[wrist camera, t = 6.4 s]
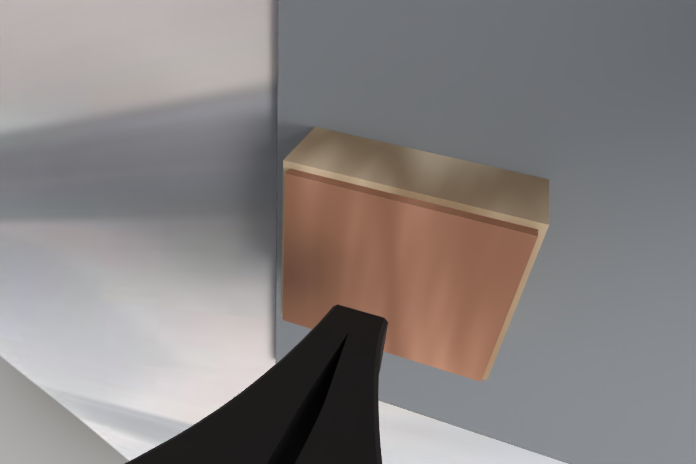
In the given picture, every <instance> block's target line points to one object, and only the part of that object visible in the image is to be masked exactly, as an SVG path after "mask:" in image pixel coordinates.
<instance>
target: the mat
mask: <svg viewBox="0 0 696 464" xmlns="http://www.w3.org/2000/svg"><path fill="white" fill-rule="evenodd" d="M314 127H319V128H323V129H328V130H332V131H337V132H341V133H346V134H350V135H354V136H359V137H363V138H368V139H372V140H377V141H381V142H385V143H390V144H394V145H399V146H403V147H408V148H412V149H416V150H421V151H425V152H430V153H434V154H439V155H443V156H448V157H452V158H456V159H461V160H465V161H470V162H474V163H479V164H483V165H487V166H492V167H496V168H501V169H505V170H510V171H514V172H518V173H523V174H527V175H532V176H536V177H541V178H545V179H549V227H548V229H547V232H546V234H545V237H544V239H543V242H542V244H541V247H540V249H539V252H538V254H537V257H536V259H535V262H534V264H533V267H532V269H531V272H530V274H529V277H528V279H527V282H526V284H525V287H524V289H523V292H522V294H521V297H520V299H519V302H518V304H517V307H516V309H515V312H514V314H513V317H512V319H511V322H510V324H509V327H508V329H507V332H506V334H505V337H504V339H503V342H502V344H501V347H500V349H499V352H498V354H497V357H496V359H495V362H494V364H493V367H492V369H491V372H490V374H489V377H488V379H487V380H484V379H482V381H481V382H480V381H476V380H473V379H470V378H467V377H464V376H460V375H457V374H454V373H451V372H448V371H444V370H441V369H438V368H435V367H432V366H428V365H425V364H422V363H419V362H416V361H412V360H409V359H406V358H403V357H400V356H396V355H393V354H390V353H387V352H384V351H383V356H382V362H381V368H380V372H379V388H378V400H379V401H382V402H385V403H388V404H391V405H394V406H397V407H400V408H403V409H406V410H409V411H412V412H415V413H418V414H421V415H424V416H427V417H430V418H433V419H436V420H439V421H442V422H445V423H448V424H451V425H454V426H457V427H460V428H463V429H466V430H469V431H472V432H475V433H478V434H481V435H484V436H487V437H490V438H493V439H496V440H499V441H502V442H505V443H508V444H511V445H514V446H517V447H520V448H523V449H526V450H529V451H532V452H535V453H538V454H541V455H544V456H547V457H550V458H553V459H556V460H559V461H562V462H565V463H568V464H696V0H278V88H277V237H276V364H277V363H278V362H279V361H280V360H281V359H282V358H283V357H284V356H285V355H287V354H288V353H289V352H290V351H291V350H292V349H293V348H294V347H295V346H296V345H297V344H298V343H299V342H300V341H301V340H302V339H303V338H304V337H305V336H306V335H307V334H308V333H309V332H310V331H311V330H312V329H310V328H307V327H304V326H300V325H297V324H294V323H291V322H288V321H284V320H283V317H281V273H282V206H283V160H284V159H285V158H286V157H287V156H288V155H289V154H290V153H291V152H292V150H293V149H294V148H295V147H296V146H297V145H298V144H299V143H300V142H301V141H302V140H303V139H304V138H305V137H306V136H307V135H308V134H309V133H310V132H311V131H312V130H313V128H314Z"/></svg>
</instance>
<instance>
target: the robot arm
mask: <svg viewBox="0 0 696 464" xmlns="http://www.w3.org/2000/svg"><path fill="white" fill-rule="evenodd" d="M387 327H388V322H387V320H386V319H385V318H384V317H380V316H377V315H373V314H370V313H366V312H363V311H359V310H356V309H352V308H349V307H345V306H341V305H338V304H337V305H335V306H333V307H332V308H331V309H330V311H329V312H328V313H327V314H326V315H325V316H324V318H323V319H322V320H321V321H320V322H319V323H318V324H317V325H316V326H315V327H314V328H313V329H312V330H311V331H310V332H309V333H308V334H307V335H306V336H305V337H304V338H303V339H302V340H301V341H300V342H299V343H298V344H297V345H296V346H295V347H294V348H293V349H292V350H291V351H290V352H289V353H288V354H287V355H285V356H284V357H283V358H282V359H281V360H280V361H279V362H278V363H277V364H275V365H274V366H273V367H272V368H271V369H270V370H268V371H267V372H266V373H265V374H264V375H262V376H261V377H260V378H259V379H258V380H256V381H255V382H254V383H253V384H251V385H250V386H249V387H248V388H246V389H245V390H244V391H242V392H241V393H240V394H238V395H237V396H236V397H234V398H233V399H232V400H230V401H229V402H227V403H226V404H225V405H223V406H222V407H220V408H219V409H218V410H216V411H215V412H213V413H211V414H210V415H208V416H207V417H205V418H204V419H202V420H201V421H199V422H198V423H196V424H195V425H193V426H191V427H190V428H188V429H187V430H185V431H183V432H182V433H180V434H178V435H177V436H175V437H173V438H171V439H169V440H168V441H166V442H164V443H162V444H160V445H159V446H157V447H155V448H153V449H151V450H149V451H148V452H146V453H144V454H142V455H140V456H139V457H137V458H135V459H133V460H131V461H129V462H127V463H125V464H382V457H381V447H380V433H379V411H378V388H379V372H380V368H381V362H382V356H383V350H384V345H385V339H386V333H387Z"/></svg>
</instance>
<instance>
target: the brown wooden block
mask: <svg viewBox="0 0 696 464" xmlns="http://www.w3.org/2000/svg"><path fill="white" fill-rule="evenodd" d="M548 227H549V179H545V178H541V177H536V176H532V175H527V174H523V173H518V172H514V171H510V170H505V169H501V168H496V167H492V166H487V165H483V164H479V163H474V162H470V161H465V160H461V159H456V158H452V157H448V156H443V155H439V154H434V153H430V152H425V151H421V150H416V149H412V148H408V147H403V146H399V145H394V144H390V143H385V142H381V141H377V140H372V139H368V138H363V137H359V136H354V135H350V134H346V133H341V132H337V131H332V130H328V129H323V128H319V127H314V128H313V130H312V131H311V132H310V133H309V134H308V135H307V136H306V137H305V138H304V139H303V140H302V141H301V142H300V143H299V144H298V145H297V146H296V147H295V148H294V149H293V150H292V152H291V153H290V154H289V155H288V156H287V157H286V158H285V159H284V160H283V206H282V273H281V317H283V320H284V321H288V322H291V323H294V324H297V325H300V326H304V327H307V328H310V329H313V328H314V327H315V326H316V325H317V324H318V323H319V322H320V321H321V320H322V319H323V318H324V316H325V315H326V314H327V313H328V312H329V311H330V309H331V308H332V307H333V306H335V305H337V304H338V305H341V306H345V307H349V308H352V309H356V310H359V311H363V312H366V313H370V314H373V315H377V316H380V317H384V318H385V319H386V320H387V322H388V327H387V333H386V339H385V345H384V350H383V351H384V352H387V353H390V354H393V355H396V356H400V357H403V358H406V359H409V360H412V361H416V362H419V363H422V364H425V365H428V366H432V367H435V368H438V369H441V370H444V371H448V372H451V373H454V374H457V375H460V376H464V377H467V378H470V379H473V380H476V381H480V382H481V381H482V379H484V380H487V379H488V377H489V374H490V372H491V369H492V367H493V364H494V362H495V359H496V357H497V354H498V352H499V349H500V347H501V344H502V342H503V339H504V337H505V334H506V332H507V329H508V327H509V324H510V322H511V319H512V317H513V314H514V312H515V309H516V307H517V304H518V302H519V299H520V297H521V294H522V292H523V289H524V287H525V284H526V282H527V279H528V277H529V274H530V272H531V269H532V267H533V264H534V262H535V259H536V257H537V254H538V252H539V249H540V247H541V244H542V242H543V239H544V237H545V234H546V232H547V229H548Z"/></svg>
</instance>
